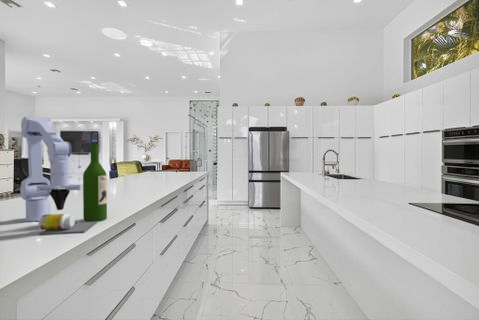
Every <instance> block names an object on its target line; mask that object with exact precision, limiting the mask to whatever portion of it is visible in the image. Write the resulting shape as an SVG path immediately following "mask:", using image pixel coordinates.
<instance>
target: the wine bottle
mask: <svg viewBox="0 0 479 320" xmlns="http://www.w3.org/2000/svg"><path fill="white" fill-rule="evenodd" d="M99 151H100V150H99V144H90V162H89V164H88V166H87V167H86V168H85V170H84V172H83V175H82V197H83V198H82V199H83V200H82V201H83V204H82V207H83V208H82V210H83V213H82V215H83V222H84V221H85V222H97V223H98V222H103V221H106V220H107V219H108V210H107V209H108V207H107V204H108V198H107V197H108V195H107V194H108V193H107V191H108V190H107V189H108V186H107V185H108V182H107V178H108V177H107V172H106V170H105V169H104V168H103V166H102V164H101V163H100V159H99V158H100V154H99V153H100V152H99Z"/></svg>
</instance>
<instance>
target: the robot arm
mask: <svg viewBox="0 0 479 320" xmlns="http://www.w3.org/2000/svg"><path fill="white" fill-rule="evenodd" d="M20 126H21V127H20V130H21V136H22V137H23V138H25V139H26V141H27V158H28V160H27V161H28V162H27V163H28V177H27V178H25V179H23V180H22V181H21V182H20V190H19V191H20V197H21V199H22V200H25V218H24V219H22V220H21V221H20V222H21V223H22V222H23V223H24V222H39V220H40V218H41V216H43V215H47V214H51V202H50V200H49V197H51V198H52V200H53V202H54V204H55V207H56V210H57V211H62V210H64V207H65V204H66V200H67V198H68V196H69V194H70V192H71V191H81V190H82V191H83V184H70V182H69V181H70V180H69V179H70V173H69V172H70V171H69V170H70V168H69V167H70V166H69V161H70V160H69V157H70V156H71V155H72V144H71V143H70V142H69V141H64V140H63V138H62V137H61V136H60V135H59V134H58V133H57V131H53V129H54V123H53V121H52V119H51V118H39V117H30V116H29V117H28V116H24V117H22V120H21V121H20ZM42 142H43V143H44V145H45V146H46V149H47V150H46V152H47V156H48V161H49V164H50V168H49V169H50V179H48V178H47V177H44V175H43V156H42V155H43V151H42Z"/></svg>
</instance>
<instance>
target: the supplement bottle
mask: <svg viewBox="0 0 479 320" xmlns="http://www.w3.org/2000/svg"><path fill="white" fill-rule="evenodd" d="M75 219H76V218H75V216H74V215H69V214H67V213H54V214H53V213H52V214H51V213H50V214H47V215H43V216H41V218H40V220H39V221H38V227H39V229H40V230H41V231H45V230H57V229H66V228H67V227H72V226H73V225H74V223H76V222H75Z"/></svg>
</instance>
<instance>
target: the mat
mask: <svg viewBox="0 0 479 320" xmlns="http://www.w3.org/2000/svg"><path fill="white" fill-rule="evenodd" d="M97 223H98V222H84V221H82V222H81V221H78V222H75V223H74V225H73V226H72V227H67V228H66V229H57V230H42V231H41V232H40V233H39V236H44V235H45V236H47V235H49V236H51V235H66V234H68V235H69V234H83V233H86V232H87V231H89V230H90V229H91V228H92V227H94V226H96V224H97Z"/></svg>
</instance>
